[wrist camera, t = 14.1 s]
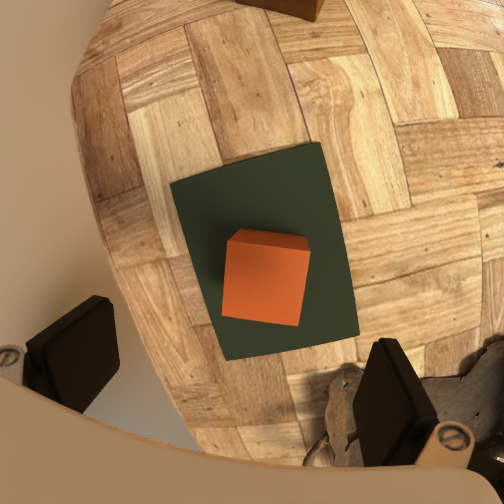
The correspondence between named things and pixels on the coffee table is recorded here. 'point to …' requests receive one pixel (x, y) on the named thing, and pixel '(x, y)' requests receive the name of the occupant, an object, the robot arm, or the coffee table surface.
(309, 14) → the bottom block
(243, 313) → the top cube
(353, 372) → the rusty handled basin
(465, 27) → the coffee table surface
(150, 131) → the coffee table surface
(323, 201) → the mat
